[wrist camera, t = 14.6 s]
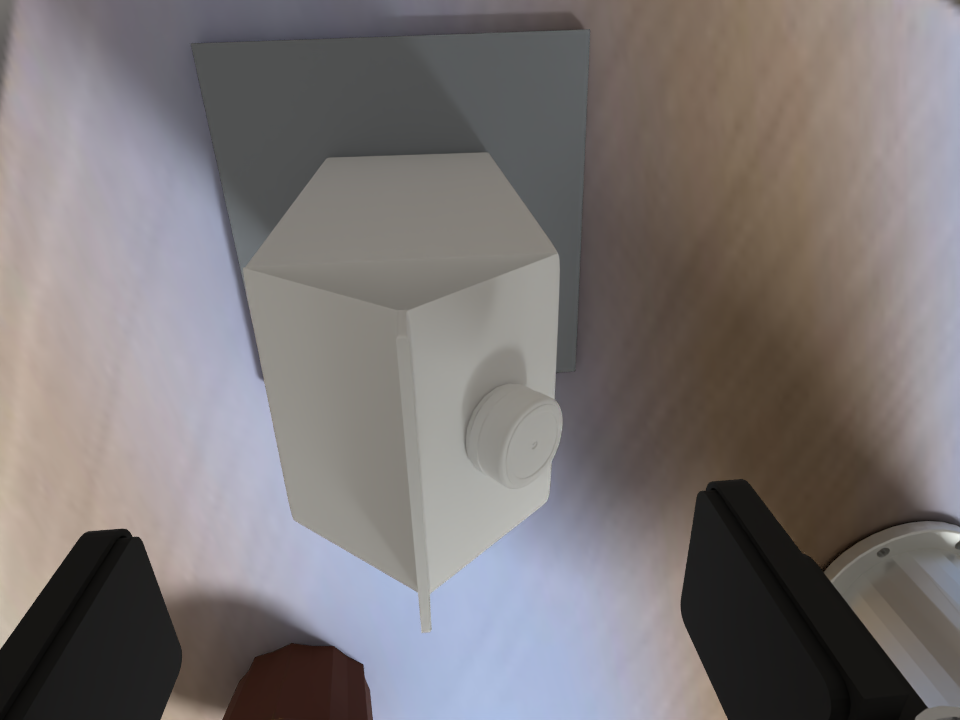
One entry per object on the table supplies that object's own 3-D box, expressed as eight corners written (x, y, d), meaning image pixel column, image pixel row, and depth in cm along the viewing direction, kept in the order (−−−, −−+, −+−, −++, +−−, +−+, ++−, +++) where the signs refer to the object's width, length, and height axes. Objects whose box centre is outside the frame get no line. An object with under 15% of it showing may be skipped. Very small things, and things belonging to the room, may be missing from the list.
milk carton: (344, 308, 30) (258, 649, 13) (325, 156, 27) (177, 348, 10) (490, 301, 30) (588, 618, 14) (489, 150, 27) (614, 323, 10)
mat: (585, 29, 26) (590, 29, 25) (571, 364, 33) (575, 371, 33) (197, 43, 25) (190, 43, 24) (271, 386, 32) (267, 394, 32)
